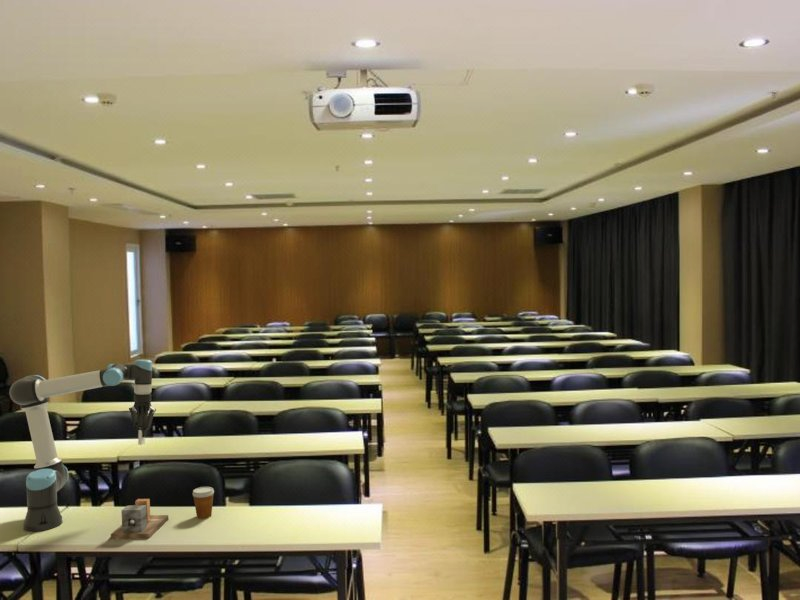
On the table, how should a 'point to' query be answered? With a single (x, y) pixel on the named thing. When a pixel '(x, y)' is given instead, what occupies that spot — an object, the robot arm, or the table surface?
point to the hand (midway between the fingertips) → (141, 444)
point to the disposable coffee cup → (203, 501)
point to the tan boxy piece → (147, 503)
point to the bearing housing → (138, 523)
